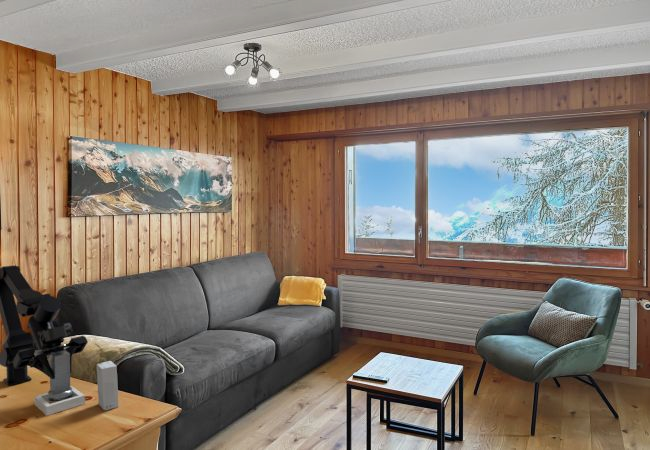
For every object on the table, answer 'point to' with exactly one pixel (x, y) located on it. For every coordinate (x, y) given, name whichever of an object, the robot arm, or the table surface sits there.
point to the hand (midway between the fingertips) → (62, 376)
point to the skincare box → (107, 385)
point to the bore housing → (49, 409)
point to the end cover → (60, 376)
